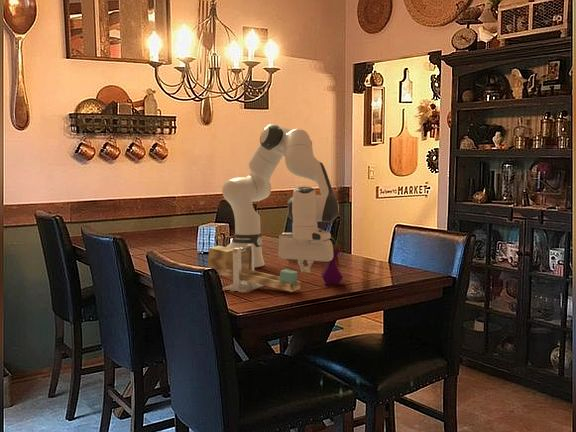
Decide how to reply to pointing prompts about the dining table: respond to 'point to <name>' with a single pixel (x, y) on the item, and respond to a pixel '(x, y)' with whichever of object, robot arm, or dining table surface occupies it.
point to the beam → (244, 269)
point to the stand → (237, 275)
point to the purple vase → (332, 269)
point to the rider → (288, 276)
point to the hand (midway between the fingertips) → (305, 272)
